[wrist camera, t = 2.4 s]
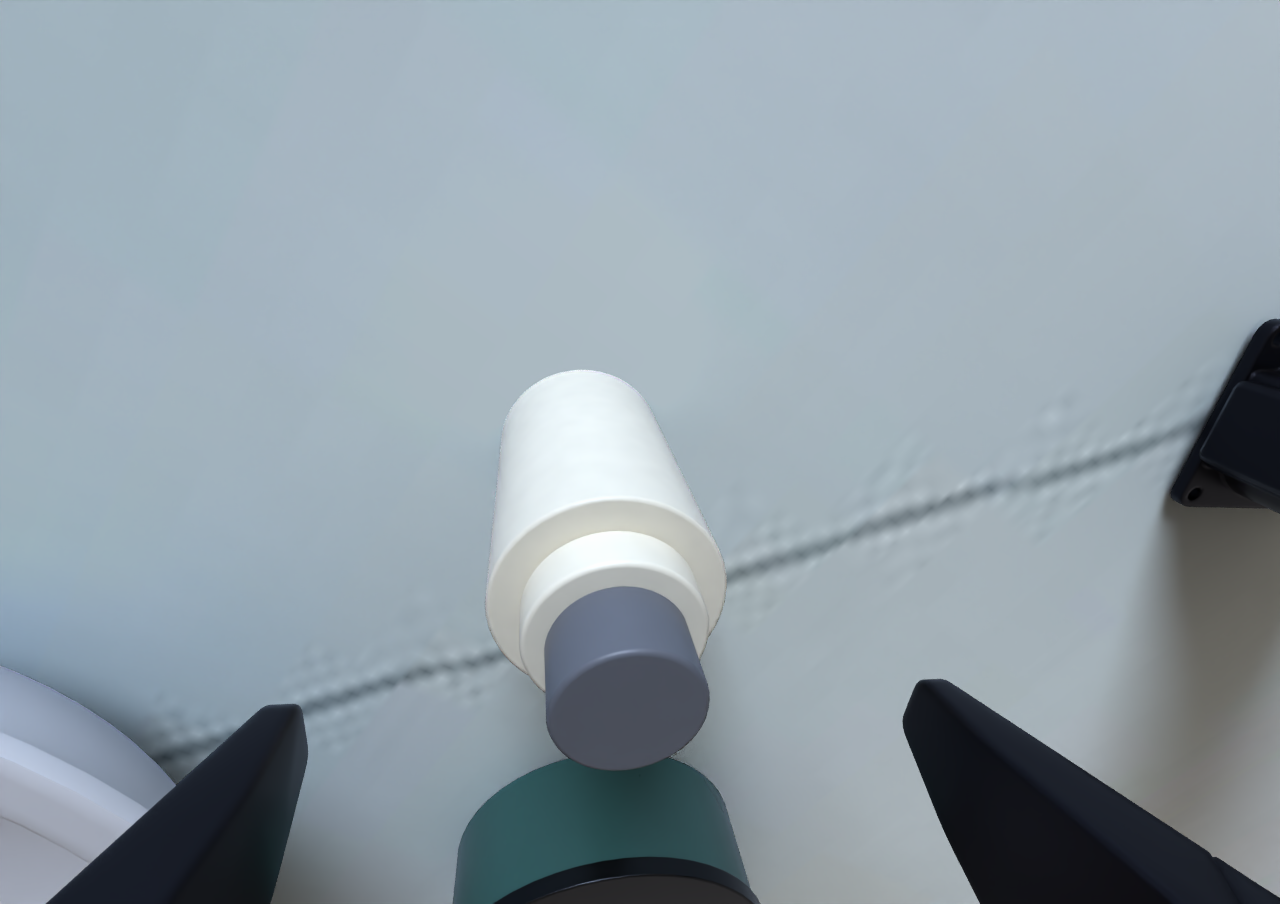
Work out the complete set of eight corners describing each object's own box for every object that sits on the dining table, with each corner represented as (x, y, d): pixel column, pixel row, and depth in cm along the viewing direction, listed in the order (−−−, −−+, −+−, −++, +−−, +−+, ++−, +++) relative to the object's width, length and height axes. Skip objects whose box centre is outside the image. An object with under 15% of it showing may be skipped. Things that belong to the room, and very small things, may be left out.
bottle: (666, 374, 17) (805, 590, 8) (647, 512, 19) (746, 806, 10) (502, 363, 16) (473, 593, 8) (499, 510, 18) (472, 828, 9)
